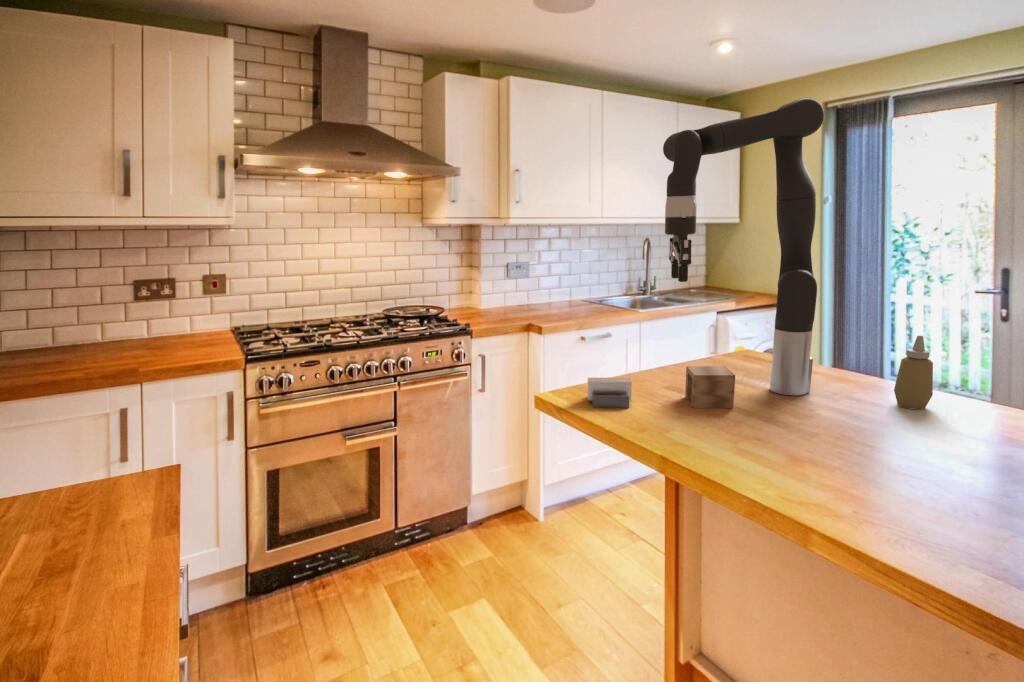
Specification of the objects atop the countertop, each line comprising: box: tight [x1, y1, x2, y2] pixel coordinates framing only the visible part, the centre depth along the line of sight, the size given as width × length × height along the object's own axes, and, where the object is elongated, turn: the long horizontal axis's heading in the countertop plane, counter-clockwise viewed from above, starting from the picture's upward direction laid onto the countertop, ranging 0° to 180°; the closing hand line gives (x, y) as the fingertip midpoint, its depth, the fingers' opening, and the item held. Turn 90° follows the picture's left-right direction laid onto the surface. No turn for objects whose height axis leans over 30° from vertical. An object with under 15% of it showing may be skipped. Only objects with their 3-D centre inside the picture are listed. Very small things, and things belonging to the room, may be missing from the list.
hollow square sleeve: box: [684, 365, 736, 409], centre depth 157 cm, size 10×9×8 cm
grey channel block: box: [591, 395, 630, 409], centre depth 159 cm, size 9×10×3 cm
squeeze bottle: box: [893, 335, 934, 410], centre depth 150 cm, size 8×8×18 cm
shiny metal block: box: [587, 377, 633, 402], centre depth 158 cm, size 11×4×5 cm, turn 85°
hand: (679, 279), depth 155 cm, fingers open, 8 cm apart
